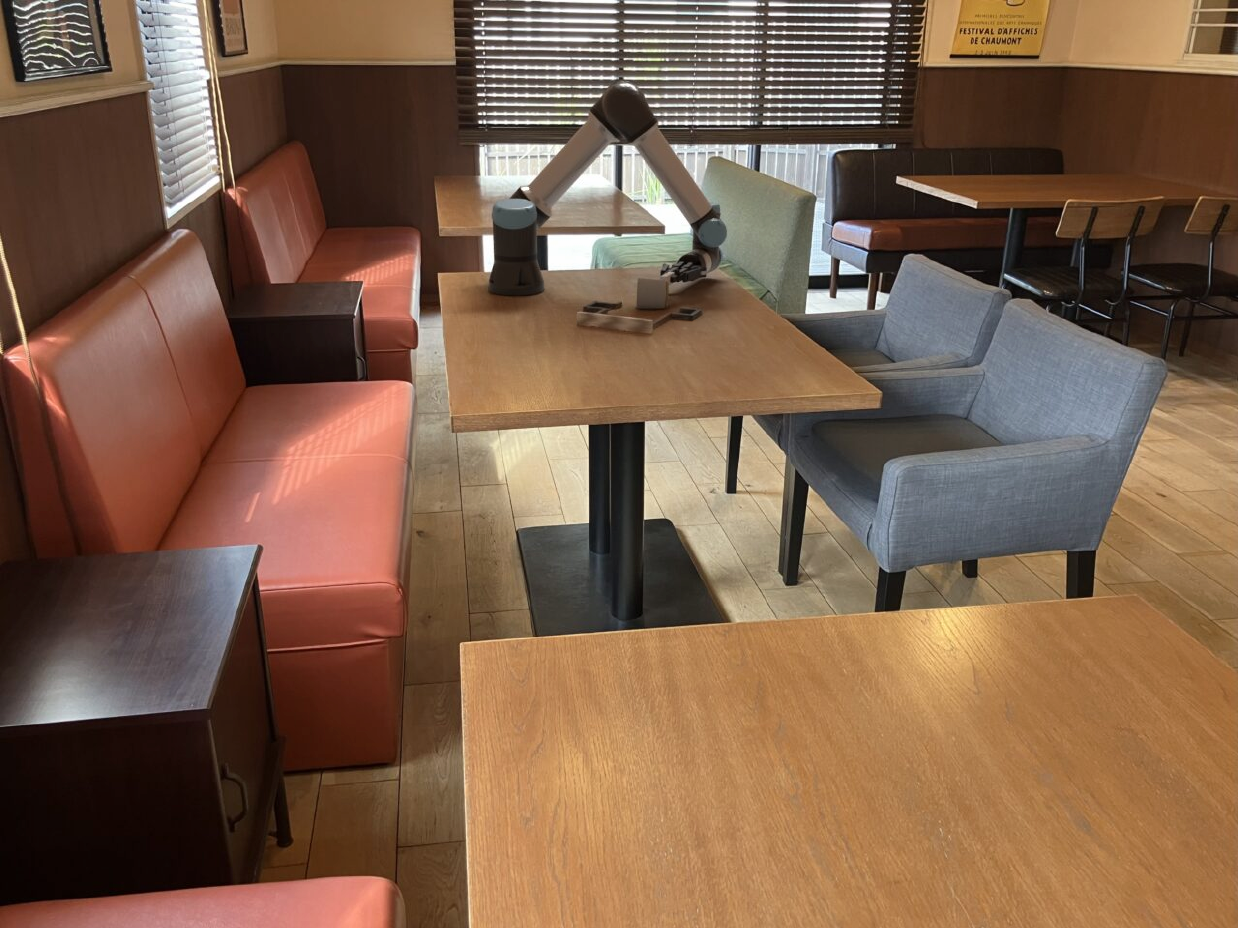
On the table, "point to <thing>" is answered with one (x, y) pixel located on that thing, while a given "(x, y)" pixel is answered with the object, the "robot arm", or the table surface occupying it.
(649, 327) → the frame with square trays
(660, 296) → the ceramic mug
